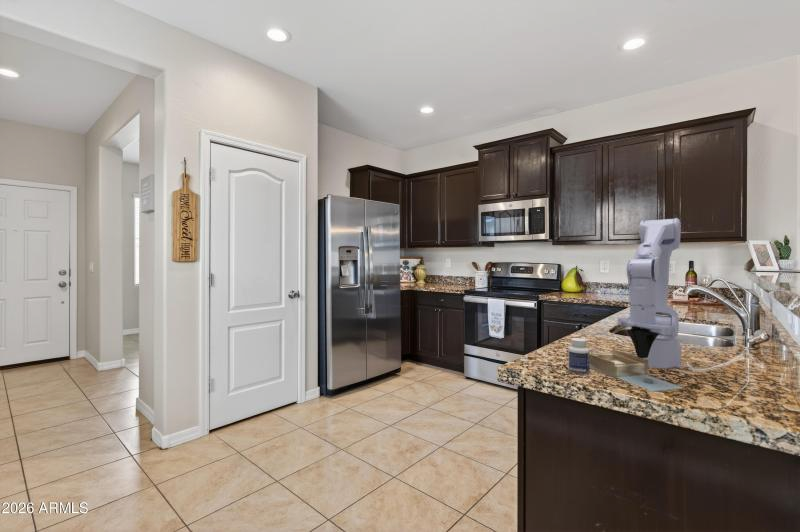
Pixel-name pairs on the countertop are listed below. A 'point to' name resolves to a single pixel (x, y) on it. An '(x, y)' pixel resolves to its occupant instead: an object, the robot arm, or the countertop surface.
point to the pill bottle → (579, 356)
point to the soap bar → (618, 363)
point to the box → (609, 368)
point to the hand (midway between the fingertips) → (642, 357)
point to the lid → (649, 383)
